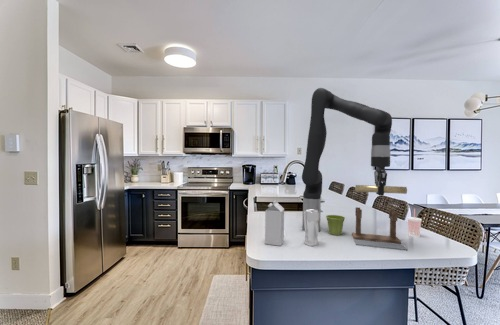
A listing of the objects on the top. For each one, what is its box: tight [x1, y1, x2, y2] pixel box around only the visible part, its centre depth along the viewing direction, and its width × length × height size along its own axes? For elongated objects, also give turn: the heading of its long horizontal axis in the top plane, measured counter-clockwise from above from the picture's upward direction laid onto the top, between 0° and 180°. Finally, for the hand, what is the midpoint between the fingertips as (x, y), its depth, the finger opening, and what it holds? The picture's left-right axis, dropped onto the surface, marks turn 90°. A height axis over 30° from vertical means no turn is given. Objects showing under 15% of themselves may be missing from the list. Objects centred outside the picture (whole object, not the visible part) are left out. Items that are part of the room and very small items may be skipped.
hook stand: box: [351, 206, 402, 245], centre depth 114 cm, size 20×7×14 cm, turn 73°
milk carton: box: [264, 199, 285, 247], centre depth 107 cm, size 7×7×19 cm
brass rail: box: [354, 184, 408, 195], centre depth 106 cm, size 20×3×3 cm, turn 73°
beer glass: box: [304, 209, 321, 247], centre depth 107 cm, size 7×7×15 cm
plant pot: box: [325, 214, 346, 236], centre depth 122 cm, size 9×9×9 cm
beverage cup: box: [406, 208, 423, 239], centre depth 120 cm, size 6×6×14 cm
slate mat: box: [353, 239, 408, 251], centre depth 106 cm, size 20×6×1 cm, turn 73°
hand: (379, 194), depth 106 cm, fingers closed on brass rail, 3 cm apart
